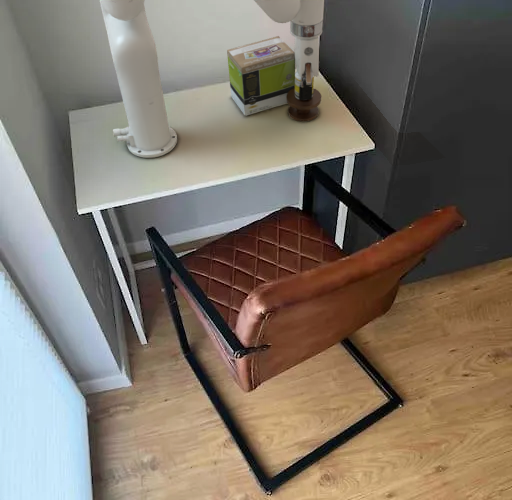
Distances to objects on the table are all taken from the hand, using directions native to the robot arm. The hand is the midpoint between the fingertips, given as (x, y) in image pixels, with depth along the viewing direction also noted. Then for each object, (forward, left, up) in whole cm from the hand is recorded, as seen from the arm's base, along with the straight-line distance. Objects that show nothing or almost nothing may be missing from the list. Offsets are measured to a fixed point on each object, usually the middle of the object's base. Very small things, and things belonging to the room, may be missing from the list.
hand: (303, 92), depth 148 cm
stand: (0, 0, -6) cm, 6 cm away
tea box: (-10, +7, -6) cm, 14 cm away
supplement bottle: (0, 0, -1) cm, 1 cm away
